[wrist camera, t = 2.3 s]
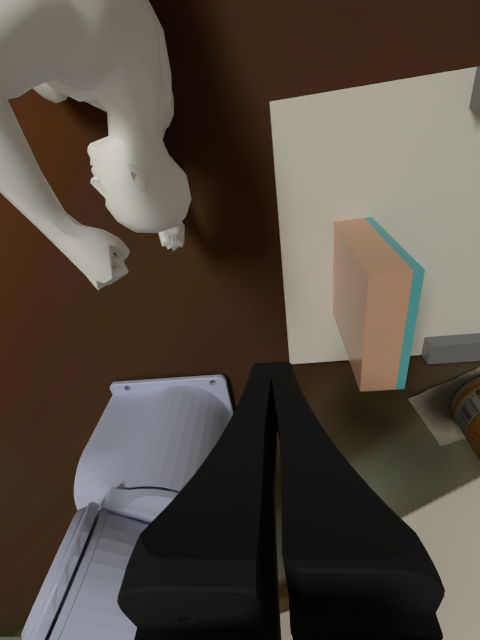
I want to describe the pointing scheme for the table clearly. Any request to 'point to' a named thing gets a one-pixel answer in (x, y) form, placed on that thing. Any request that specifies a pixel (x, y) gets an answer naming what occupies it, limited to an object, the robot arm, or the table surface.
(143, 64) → the person figurine
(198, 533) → the robot arm
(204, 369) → the table surface
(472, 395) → the condiment
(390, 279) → the tile
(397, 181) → the board
